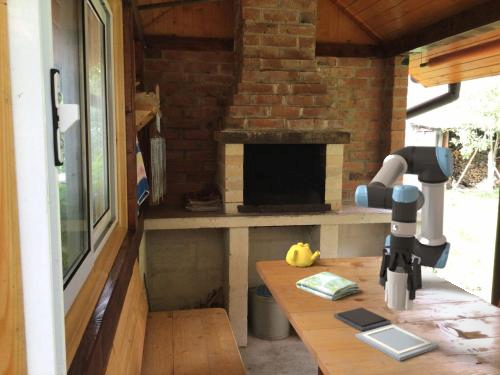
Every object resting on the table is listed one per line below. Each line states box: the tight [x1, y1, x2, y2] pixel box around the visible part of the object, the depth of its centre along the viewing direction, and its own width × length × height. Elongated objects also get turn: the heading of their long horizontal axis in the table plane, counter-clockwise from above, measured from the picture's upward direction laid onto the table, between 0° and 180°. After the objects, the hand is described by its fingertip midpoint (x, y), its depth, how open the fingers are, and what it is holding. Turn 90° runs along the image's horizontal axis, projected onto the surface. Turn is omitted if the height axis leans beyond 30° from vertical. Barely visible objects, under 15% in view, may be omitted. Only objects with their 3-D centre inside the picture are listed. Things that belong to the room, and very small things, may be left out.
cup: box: [387, 267, 412, 312], centre depth 142 cm, size 8×8×12 cm
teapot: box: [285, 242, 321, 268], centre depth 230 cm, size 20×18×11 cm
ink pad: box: [333, 307, 392, 333], centre depth 161 cm, size 14×14×2 cm
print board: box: [354, 323, 439, 362], centre depth 144 cm, size 18×18×1 cm
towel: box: [295, 271, 360, 301], centre depth 192 cm, size 18×21×5 cm
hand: (398, 304), depth 143 cm, fingers closed on cup, 7 cm apart
